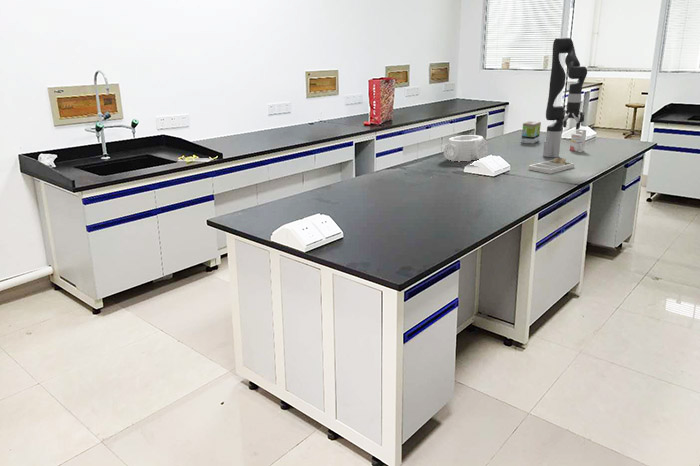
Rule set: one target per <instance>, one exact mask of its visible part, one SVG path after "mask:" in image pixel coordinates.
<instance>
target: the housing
mask: <svg viewBox="0 0 700 466" xmlns="http://www.w3.org/2000/svg"><path fill="white" fill-rule="evenodd" d="M488 152H489V143H488V141H487V140H486V139H485V138H484V137H483V136H482V135H478V134H463V135H457V136H452V137H449V138H448V143H447V144H445V146H444V148H443V155H444V157H445V158H446V159H447V160H448V161H450V160H451V161H450V162H454V161H458V162H457V163H461V162H460V161H467V162H472V161H471V160H476V161H478V160H477V159H480V158H483V157H485V158H486V157H487V156H488Z"/></svg>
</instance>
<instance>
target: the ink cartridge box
mask: <svg viewBox="0 0 700 466" xmlns="http://www.w3.org/2000/svg"><path fill="white" fill-rule="evenodd" d="M586 137H587V130H586V129H580V128H579V129H576V128H575V133H571V138H570V145H569V151H571V152H577V151H578V153H581V152H585V145H586V139H587V138H586Z"/></svg>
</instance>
